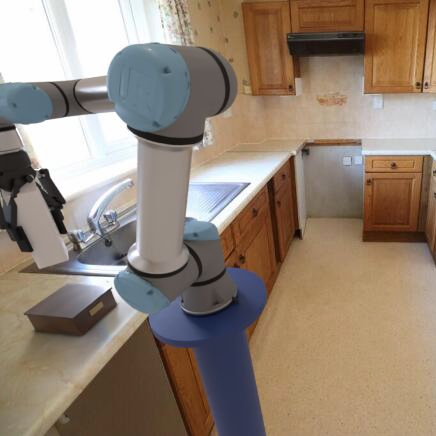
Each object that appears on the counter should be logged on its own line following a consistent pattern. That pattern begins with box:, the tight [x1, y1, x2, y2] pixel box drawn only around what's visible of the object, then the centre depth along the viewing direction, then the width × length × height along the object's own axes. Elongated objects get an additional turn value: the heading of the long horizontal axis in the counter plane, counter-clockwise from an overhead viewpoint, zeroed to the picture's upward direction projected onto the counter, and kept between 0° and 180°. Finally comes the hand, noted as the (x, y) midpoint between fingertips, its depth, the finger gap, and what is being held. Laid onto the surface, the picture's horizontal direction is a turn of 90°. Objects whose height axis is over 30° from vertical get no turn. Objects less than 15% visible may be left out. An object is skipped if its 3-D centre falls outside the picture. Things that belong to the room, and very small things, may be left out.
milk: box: [0, 175, 70, 270], centre depth 77 cm, size 6×6×22 cm
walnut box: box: [23, 282, 118, 337], centre depth 87 cm, size 15×13×6 cm
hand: (45, 241), depth 80 cm, fingers closed on milk, 8 cm apart
